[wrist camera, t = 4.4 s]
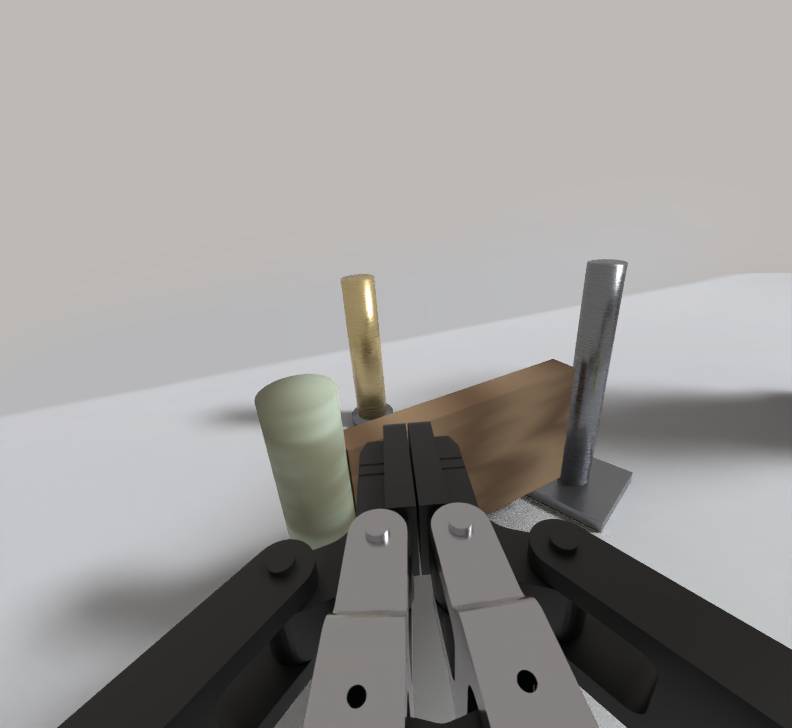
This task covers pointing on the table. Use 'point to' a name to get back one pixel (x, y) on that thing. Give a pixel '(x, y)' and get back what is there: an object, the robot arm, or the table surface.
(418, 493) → the robot arm
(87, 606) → the table surface
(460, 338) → the table surface
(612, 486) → the hinge post
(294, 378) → the gate
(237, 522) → the table surface
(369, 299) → the post
